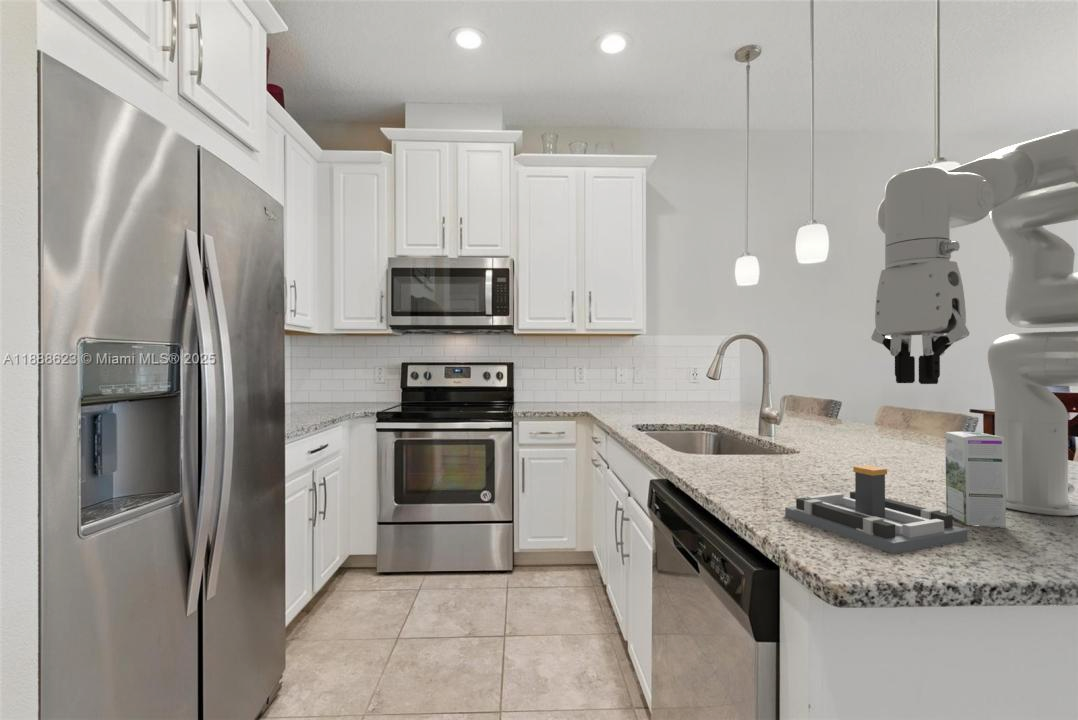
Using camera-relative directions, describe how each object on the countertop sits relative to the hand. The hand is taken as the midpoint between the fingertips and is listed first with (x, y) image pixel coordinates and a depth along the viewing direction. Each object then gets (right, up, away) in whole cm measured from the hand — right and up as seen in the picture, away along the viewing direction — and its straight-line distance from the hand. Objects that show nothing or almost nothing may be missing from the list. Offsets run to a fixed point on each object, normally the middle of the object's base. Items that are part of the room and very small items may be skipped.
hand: (916, 382), depth 73 cm
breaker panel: (-3, -23, +6) cm, 24 cm away
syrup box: (+17, -24, +9) cm, 30 cm away
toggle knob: (-3, -21, +6) cm, 22 cm away
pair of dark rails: (-3, -22, +6) cm, 23 cm away
